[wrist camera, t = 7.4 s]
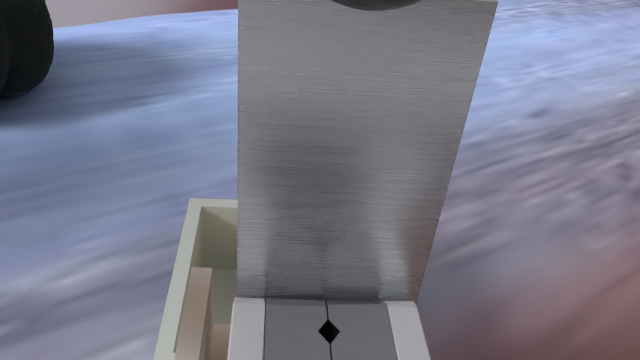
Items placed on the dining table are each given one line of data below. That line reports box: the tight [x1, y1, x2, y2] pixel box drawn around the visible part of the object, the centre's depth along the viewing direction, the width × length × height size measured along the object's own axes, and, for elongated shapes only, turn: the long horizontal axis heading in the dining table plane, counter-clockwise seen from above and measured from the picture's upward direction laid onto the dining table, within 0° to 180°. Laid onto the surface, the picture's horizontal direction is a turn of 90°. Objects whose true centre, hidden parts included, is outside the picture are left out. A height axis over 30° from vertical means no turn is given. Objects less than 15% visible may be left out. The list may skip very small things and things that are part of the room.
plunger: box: [237, 0, 498, 304], centre depth 10 cm, size 3×4×15 cm, turn 93°
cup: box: [153, 198, 238, 360], centre depth 24 cm, size 9×9×4 cm
